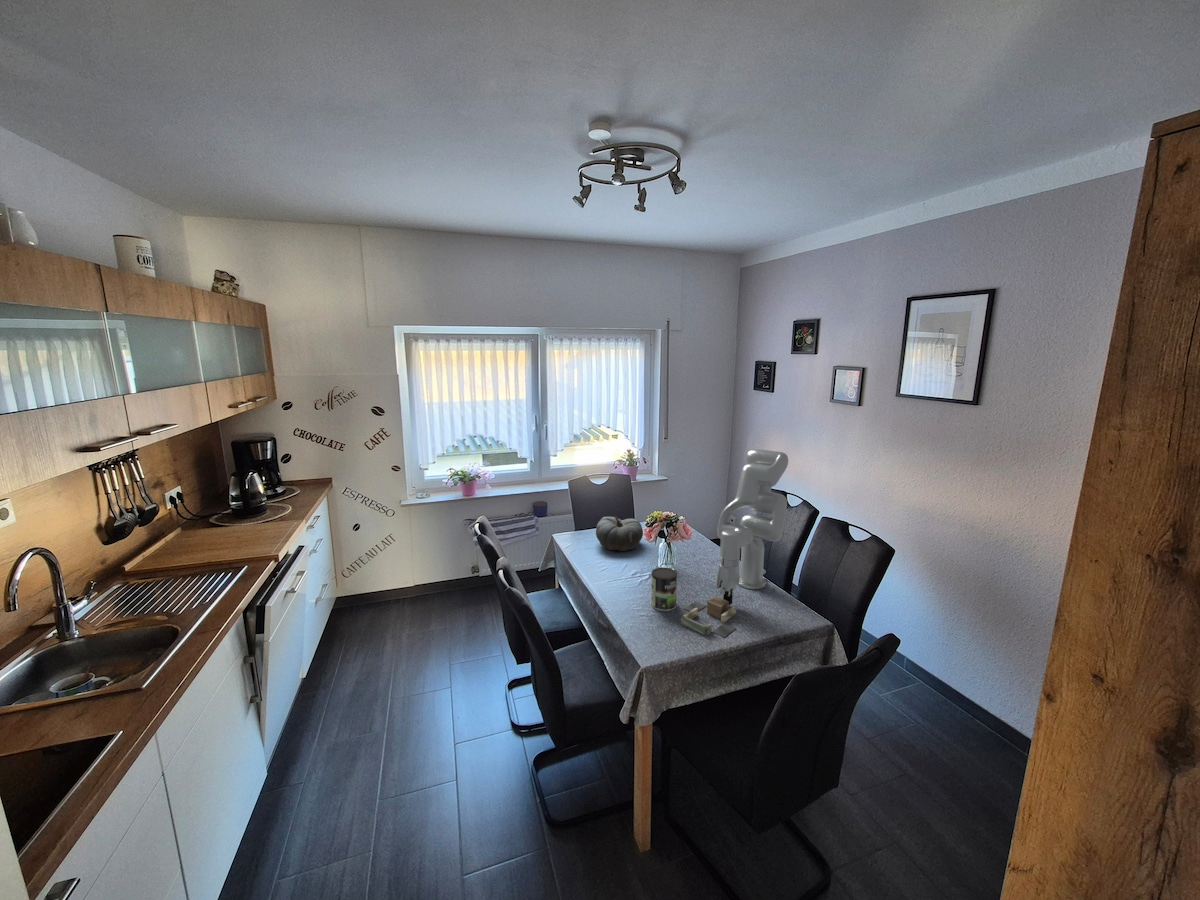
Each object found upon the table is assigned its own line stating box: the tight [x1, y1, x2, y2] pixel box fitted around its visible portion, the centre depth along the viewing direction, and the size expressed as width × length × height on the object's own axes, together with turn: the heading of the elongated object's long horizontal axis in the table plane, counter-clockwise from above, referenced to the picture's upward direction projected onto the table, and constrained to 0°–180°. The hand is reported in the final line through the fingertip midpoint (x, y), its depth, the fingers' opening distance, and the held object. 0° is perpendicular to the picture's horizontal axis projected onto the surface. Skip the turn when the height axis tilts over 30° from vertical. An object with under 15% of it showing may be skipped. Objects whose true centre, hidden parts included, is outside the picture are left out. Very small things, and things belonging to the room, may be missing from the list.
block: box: [706, 596, 730, 620], centre depth 188 cm, size 6×6×5 cm
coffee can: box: [651, 567, 678, 612], centre depth 194 cm, size 10×10×14 cm
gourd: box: [595, 516, 644, 552], centre depth 254 cm, size 25×25×17 cm
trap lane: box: [680, 596, 737, 638], centre depth 184 cm, size 21×22×3 cm
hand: (727, 603), depth 193 cm, fingers closed
